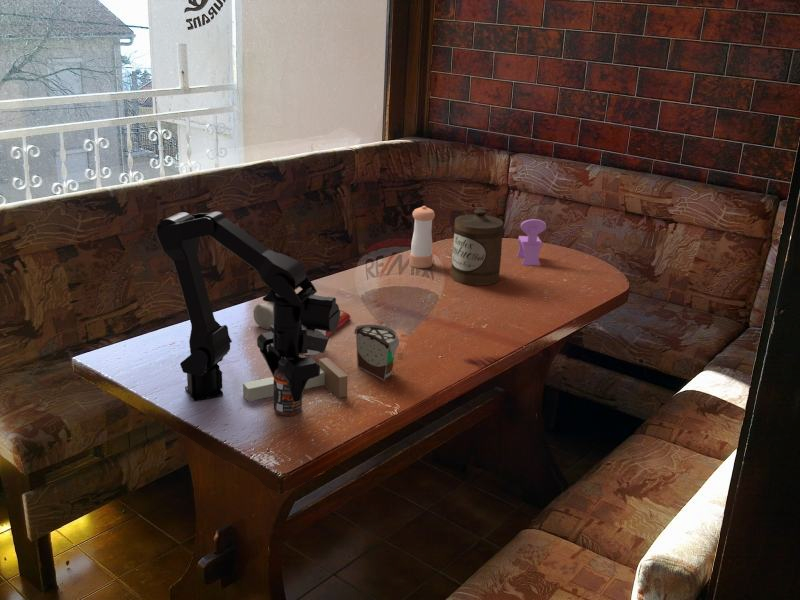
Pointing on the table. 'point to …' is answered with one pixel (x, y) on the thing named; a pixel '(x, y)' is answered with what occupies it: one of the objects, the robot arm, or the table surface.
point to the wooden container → (477, 249)
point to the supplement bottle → (284, 393)
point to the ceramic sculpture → (264, 314)
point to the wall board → (327, 377)
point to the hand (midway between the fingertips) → (287, 391)
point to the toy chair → (531, 241)
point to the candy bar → (340, 321)
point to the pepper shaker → (422, 238)
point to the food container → (376, 349)
